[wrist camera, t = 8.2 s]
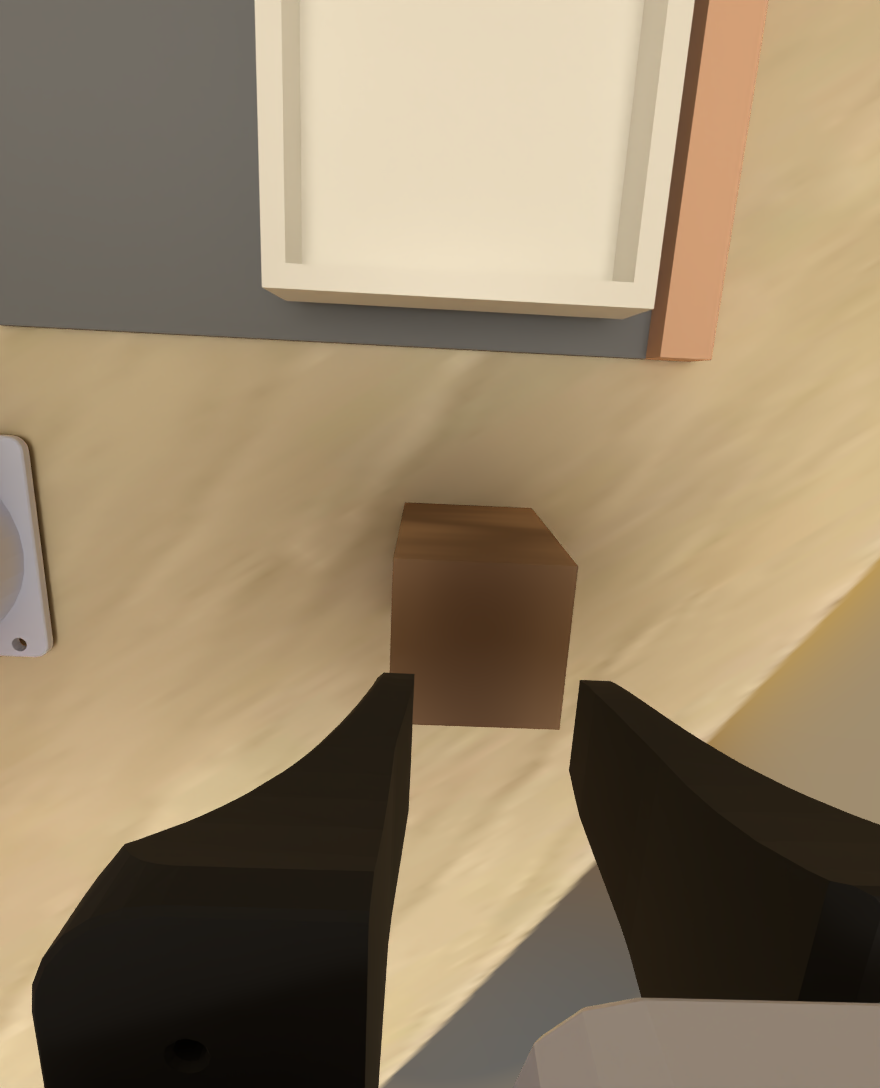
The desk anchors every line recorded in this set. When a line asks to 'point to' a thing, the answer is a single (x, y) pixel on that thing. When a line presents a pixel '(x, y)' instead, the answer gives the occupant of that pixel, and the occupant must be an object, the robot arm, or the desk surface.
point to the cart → (468, 151)
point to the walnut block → (481, 615)
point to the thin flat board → (234, 202)
